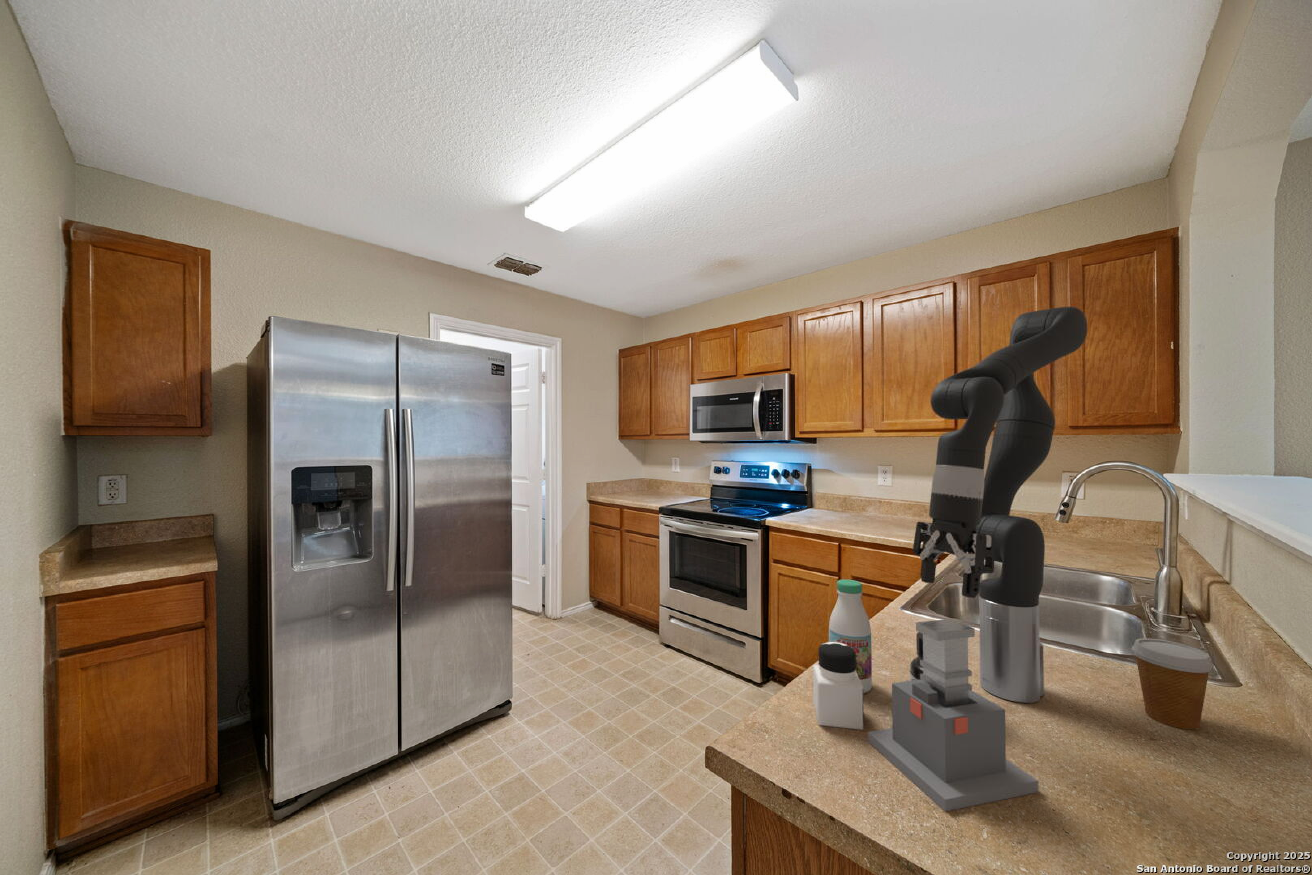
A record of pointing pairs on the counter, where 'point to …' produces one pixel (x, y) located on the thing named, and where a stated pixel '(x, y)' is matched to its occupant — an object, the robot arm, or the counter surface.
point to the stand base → (951, 748)
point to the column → (946, 660)
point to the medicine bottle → (838, 687)
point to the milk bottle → (853, 628)
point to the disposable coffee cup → (1172, 681)
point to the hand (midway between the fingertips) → (947, 589)
